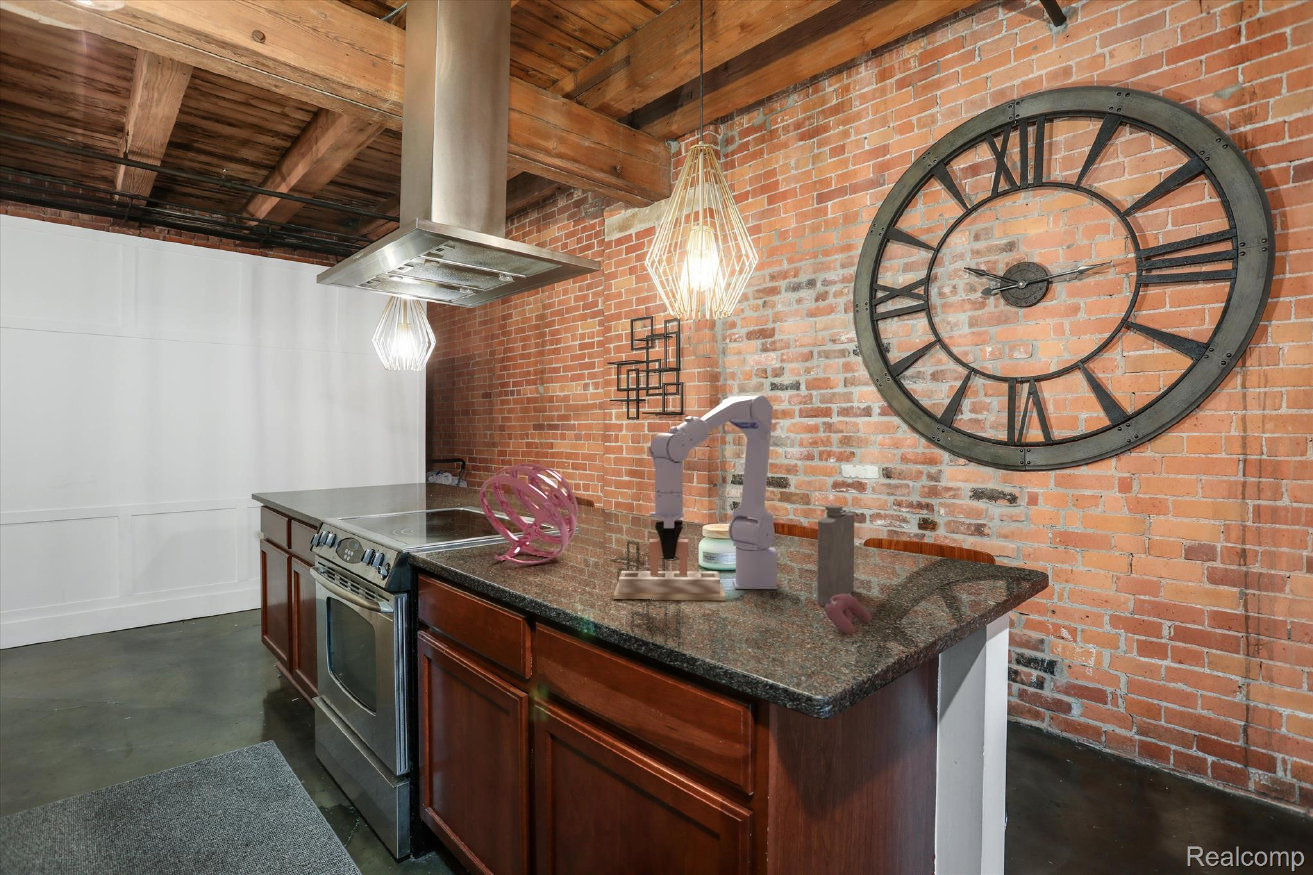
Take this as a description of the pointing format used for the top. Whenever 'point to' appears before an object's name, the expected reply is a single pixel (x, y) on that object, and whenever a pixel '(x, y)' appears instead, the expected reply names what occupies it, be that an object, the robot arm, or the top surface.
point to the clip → (656, 552)
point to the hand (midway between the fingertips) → (669, 556)
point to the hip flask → (835, 554)
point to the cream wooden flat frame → (669, 586)
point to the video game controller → (846, 612)
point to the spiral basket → (532, 510)
